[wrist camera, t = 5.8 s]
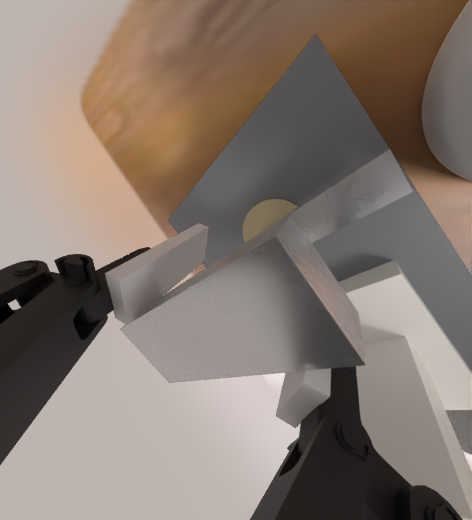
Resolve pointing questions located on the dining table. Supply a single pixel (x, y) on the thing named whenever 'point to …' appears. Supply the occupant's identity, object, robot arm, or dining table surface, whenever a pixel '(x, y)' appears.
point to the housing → (317, 179)
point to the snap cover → (411, 385)
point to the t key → (270, 294)
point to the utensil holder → (451, 99)
